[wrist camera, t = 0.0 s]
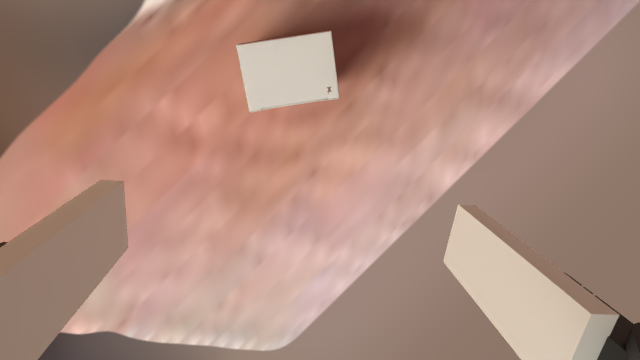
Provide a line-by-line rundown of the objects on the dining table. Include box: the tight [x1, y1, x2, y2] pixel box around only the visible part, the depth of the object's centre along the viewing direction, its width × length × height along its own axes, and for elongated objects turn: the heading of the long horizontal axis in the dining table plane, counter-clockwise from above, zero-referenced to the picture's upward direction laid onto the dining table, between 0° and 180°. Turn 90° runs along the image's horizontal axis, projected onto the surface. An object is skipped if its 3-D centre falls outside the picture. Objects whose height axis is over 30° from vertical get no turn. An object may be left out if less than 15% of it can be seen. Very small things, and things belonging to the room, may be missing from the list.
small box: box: [236, 30, 340, 112], centre depth 34 cm, size 8×6×10 cm
